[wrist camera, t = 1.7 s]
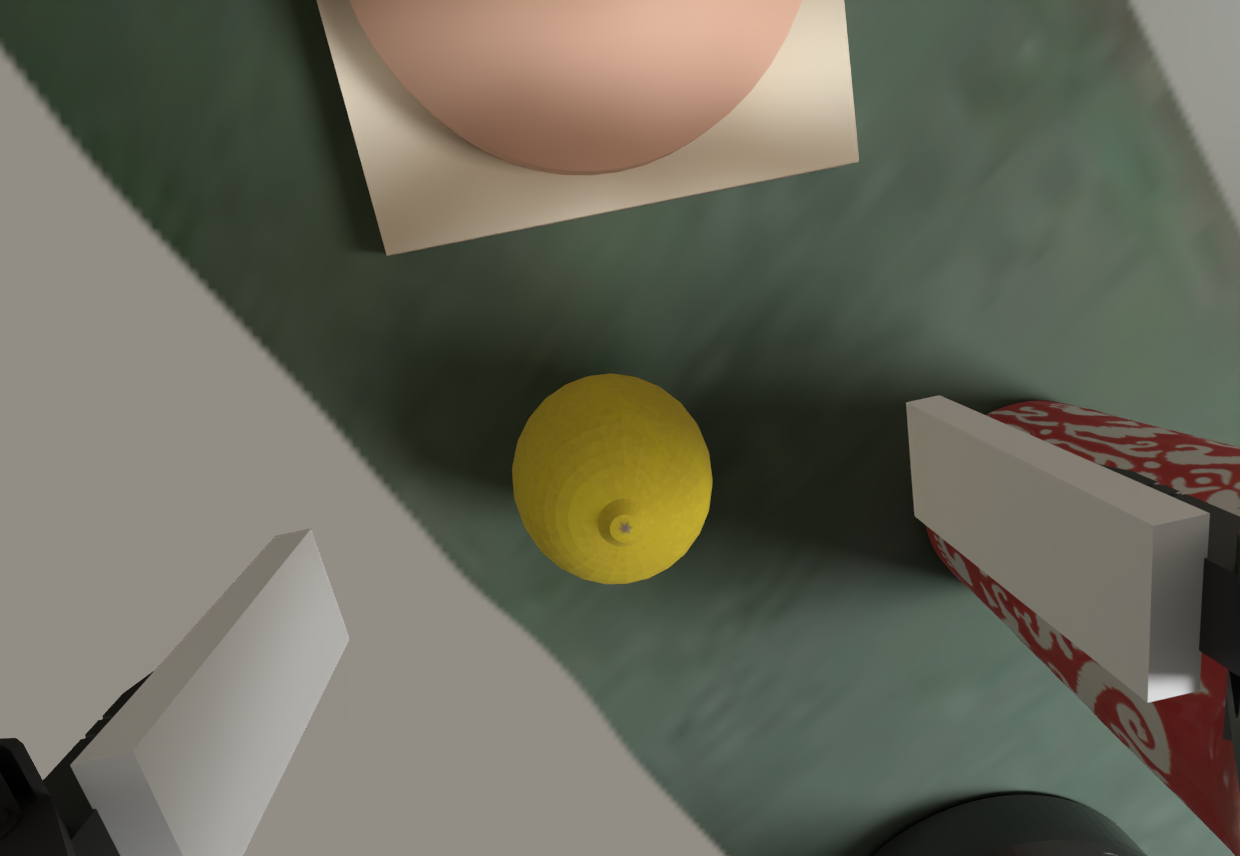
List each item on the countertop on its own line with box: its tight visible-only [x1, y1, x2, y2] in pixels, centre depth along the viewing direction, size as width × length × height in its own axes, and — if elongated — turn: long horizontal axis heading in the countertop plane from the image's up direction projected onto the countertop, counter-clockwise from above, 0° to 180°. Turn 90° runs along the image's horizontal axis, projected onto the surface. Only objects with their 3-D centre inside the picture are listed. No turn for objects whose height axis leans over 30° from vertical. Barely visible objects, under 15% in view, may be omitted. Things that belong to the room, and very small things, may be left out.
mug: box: [926, 401, 1240, 856], centre depth 19 cm, size 13×9×14 cm
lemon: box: [512, 373, 713, 584], centre depth 20 cm, size 6×6×8 cm
